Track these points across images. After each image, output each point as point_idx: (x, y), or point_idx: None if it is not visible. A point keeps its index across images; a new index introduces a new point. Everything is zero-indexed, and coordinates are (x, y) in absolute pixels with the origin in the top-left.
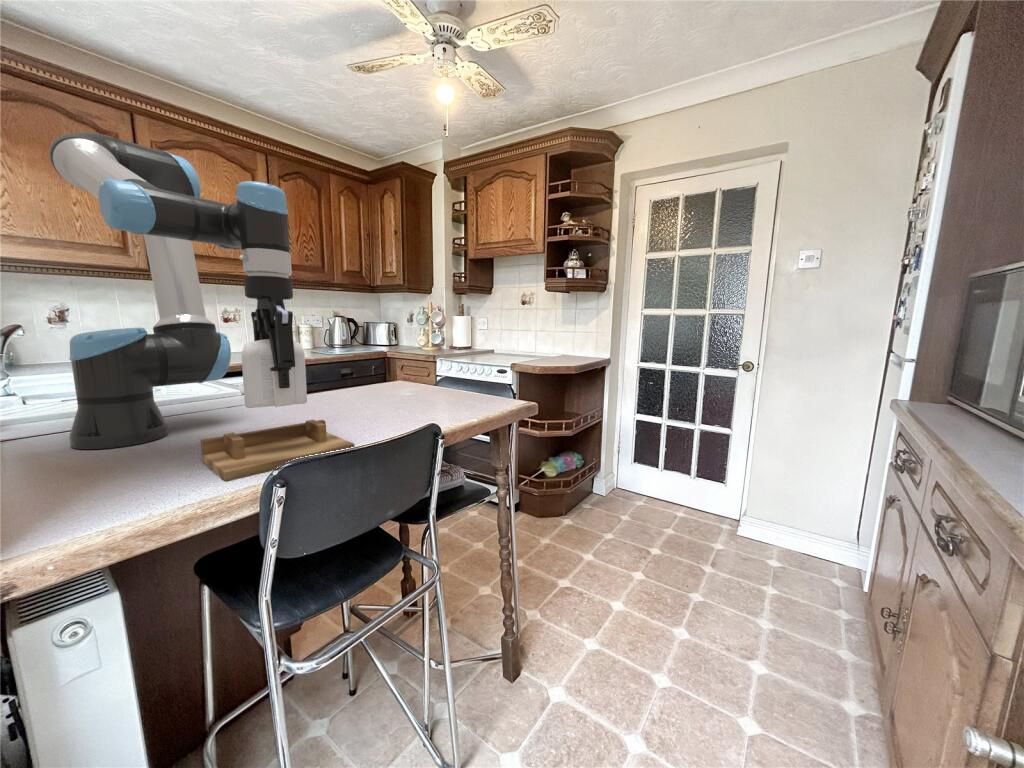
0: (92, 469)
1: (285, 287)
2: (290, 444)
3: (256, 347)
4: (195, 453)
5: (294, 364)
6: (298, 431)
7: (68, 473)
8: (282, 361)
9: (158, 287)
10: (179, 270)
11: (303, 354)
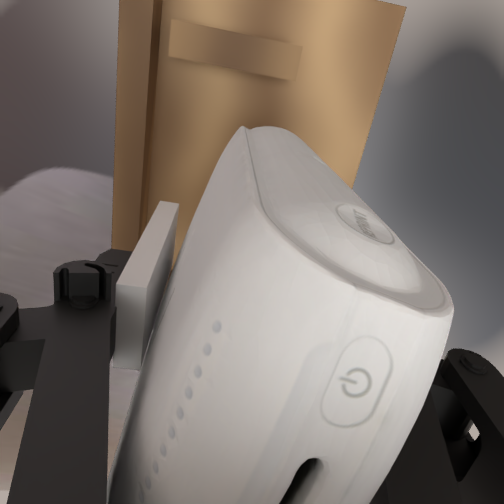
0: (19, 424)
1: None
2: (223, 148)
3: None
4: (34, 292)
5: (492, 368)
6: (152, 77)
7: (18, 446)
8: (472, 444)
9: None
10: None
11: (410, 255)
